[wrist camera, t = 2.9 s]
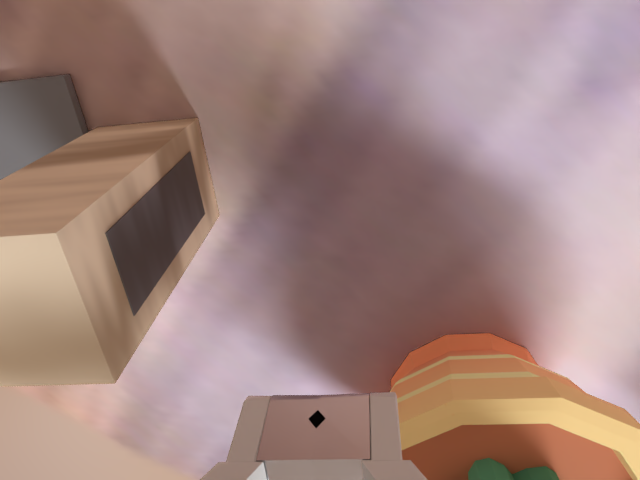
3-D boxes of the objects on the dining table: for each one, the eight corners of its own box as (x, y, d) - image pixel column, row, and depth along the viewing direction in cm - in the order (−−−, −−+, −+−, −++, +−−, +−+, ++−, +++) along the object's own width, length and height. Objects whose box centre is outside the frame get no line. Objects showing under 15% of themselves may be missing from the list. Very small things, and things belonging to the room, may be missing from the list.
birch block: (97, 127, 24) (-120, 245, 13) (198, 117, 23) (58, 232, 13) (127, 221, 26) (-38, 387, 15) (220, 215, 25) (116, 383, 15)
